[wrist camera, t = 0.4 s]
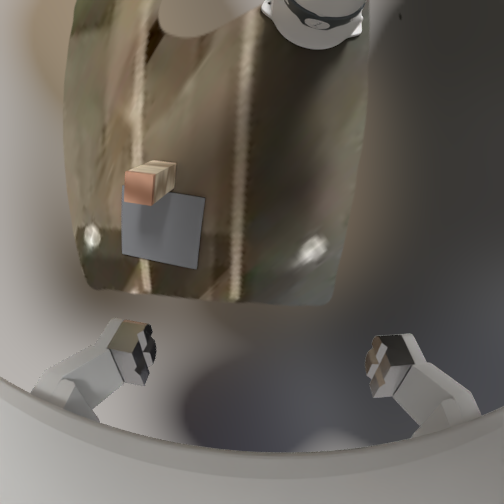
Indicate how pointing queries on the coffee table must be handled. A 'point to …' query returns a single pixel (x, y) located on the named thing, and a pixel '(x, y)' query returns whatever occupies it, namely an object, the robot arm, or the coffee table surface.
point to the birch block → (149, 182)
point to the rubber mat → (164, 229)
